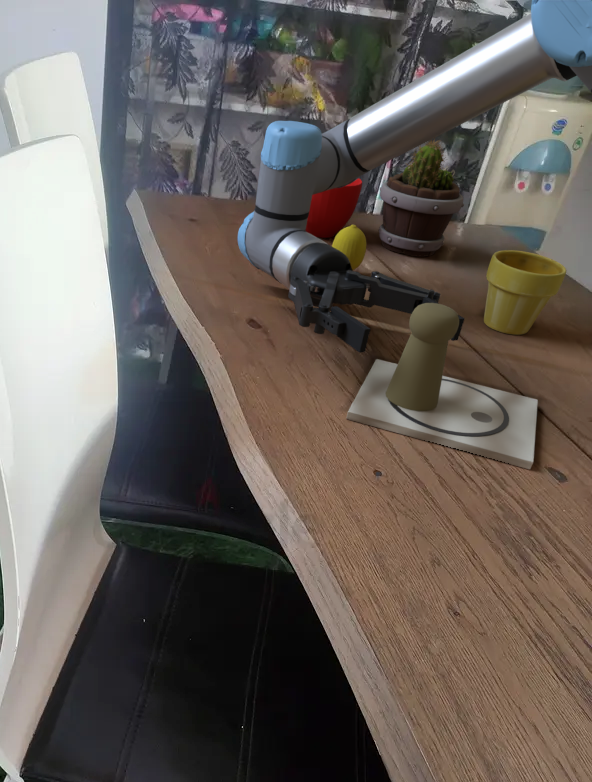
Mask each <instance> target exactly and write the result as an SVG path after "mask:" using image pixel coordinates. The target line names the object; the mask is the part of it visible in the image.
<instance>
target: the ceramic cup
mask: <svg viewBox="0 0 592 782" xmlns="http://www.w3.org/2000/svg"><path fill="white" fill-rule="evenodd" d="M362 187H363V180H362V179H361V178H360V177H359V178H358V179H357V180H355V181H354V182H352V183H351V184H348V185H346V186H344V187H341V188H333V189H330V190H326V191H324V192H321V193H317V194H314V195H312V199H311V205H310V211H309V216H308V219H307V225H306V230H305V231H306V232H308V233H310V234H312V235H313V236H315V237H317V238H320V239H321V238H322V239H323V238H325V239H327V238H333V237H334V236H336V235H337V234H338V233H339V232H340V231H341V230H342V229H343V228H345V227H346V225H347V224H348V222H349V221H350V220H351V218H352V216H353V214H354V212H355V210H356V208H357V204H358V202H359V199H360V194H361V191H362Z"/></svg>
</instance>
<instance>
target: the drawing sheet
mask: <svg viewBox="0 0 592 782" xmlns="http://www.w3.org/2000/svg"><path fill="white" fill-rule="evenodd" d="M397 365H398V363H394V362H390V361H387V360H383V359H380V358H379V359H378V358H376V359H375V360H374V363H373V364H372V366H371V369H370V370H369V372H368V373H367V375H366V377H365V379H364V381H363V382H362V384H361V386H360V388H359V390H358V392H357V394H356V396H355V398H354V400H353V401H352V403H351V405H350V406H349V408H348V411H347V414H346V420H348V421H352V422H356V423H359V424H363V425H367V426H370V427H374V428H378V429H381V430H384V431H387V432H391V433H395V434H399V435H403V436H407V437H410V438H414V439H418V440H421V441H424V440H425V441H424V442H428V441H430V442H429V443H432V442H434V443H433V444H435V443H437V444H436V445H439V444H441V445H440V446H442V445H444V446H443V447H446V446H448V447H447V448H450V447H451V448H450V449H453V448H456V449H455V450H457V449H459V450H458V451H460V450H463V451H462V452H464V451H467V452H466V453H468V452H470V453H469V454H471V453H473V454H472V455H475V454H477V455H476V456H479V455H481V456H480V457H482V456H484V457H483V458H486V457H487V458H486V459H489V458H492V459H491V460H493V459H495V460H494V461H497V460H498V461H497V462H500V461H502V462H501V463H504V462H505V463H504V464H508V463H509V464H508V465H512V466H515V467H518V468H522V469H526V470H531V469H532V467H533V465H534V459H535V445H536V432H537V431H536V430H537V417H538V404H539V401H538V399H536V398H533V397H529V396H524V395H521V394H516V393H513V392H509V391H505V390H501V389H497V388H492V387H489V386H485V385H482V384H478V383H477V384H476V383H474V382H469V381H465V380H461V379H457V378H453V377H450V376H446V375H443V376H442V381H441V387H440V393H439V399H438V404H437V407H436V408H434V409H432V410H428V411H415V410H409V409H405V408H402V407H400V406H398V405H395V404H394V403H392V402H391V401H389V399H388V398H387V397H386V391H387V388H388V386H389V384H390V381H391V379H392V377H393V374H394V372H395V370H396V367H397Z"/></svg>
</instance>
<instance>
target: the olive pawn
mask: <svg viewBox="0 0 592 782" xmlns="http://www.w3.org/2000/svg"><path fill="white" fill-rule="evenodd" d="M458 315H459V314H458V312H457V311H456V310H454V309H453V308H452V307H449V306H448V305H445V304H441V303H439V304H437V303H424V304H421V305H418V306H417V307H416V308H415V309H414V311H413V312H412V314H410V317H409V320H408V324H409V330H410V335H409V337H408V340H407V342H406V344H405V347H404V349H403V351H402V354H401V356H400V358H399V360H398V363H397V364H398V365H397V367H396V370H395V372H394V374H393V377H392V379H391V381H390V384H389V386H388V388H387V391H386V397H387V398H388V399H389V401H391V402H392V403H394V404H395V405H398V406H400V407H402V408H405V409H409V410H415V411H428V410H432V409H434V408H436V407H437V404H438V399H439V393H440V387H441V381H442V376H444V368H445V363H446V358H447V352H448V346H449V342H450V341H451V339H452V338H453V337H454V335H455V334H456V332H457V329H458V326H459V317H458Z"/></svg>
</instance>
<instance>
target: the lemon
mask: <svg viewBox="0 0 592 782" xmlns="http://www.w3.org/2000/svg"><path fill="white" fill-rule="evenodd" d="M331 246H332V247H334V248H335V249H337V250H339V251H341V252H342V253H344V254H345V255H346V256H347V258H348V259H349V261H350V264H351V267H352V270H353V271H355V270H356V269H358V268H359V267H360V265H361V264H362V263H363V261H364V259H365V255H366V252H367V238H366V236H365V233H364V232H363V230H361V228H359V227H357V225H356V224H351V225H349V226H347V227H346V226H345V227H343V228H342V229H341V230H340V231H339V232H337V233H336V234H335V237H334V239H333V241H332V245H331Z"/></svg>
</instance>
